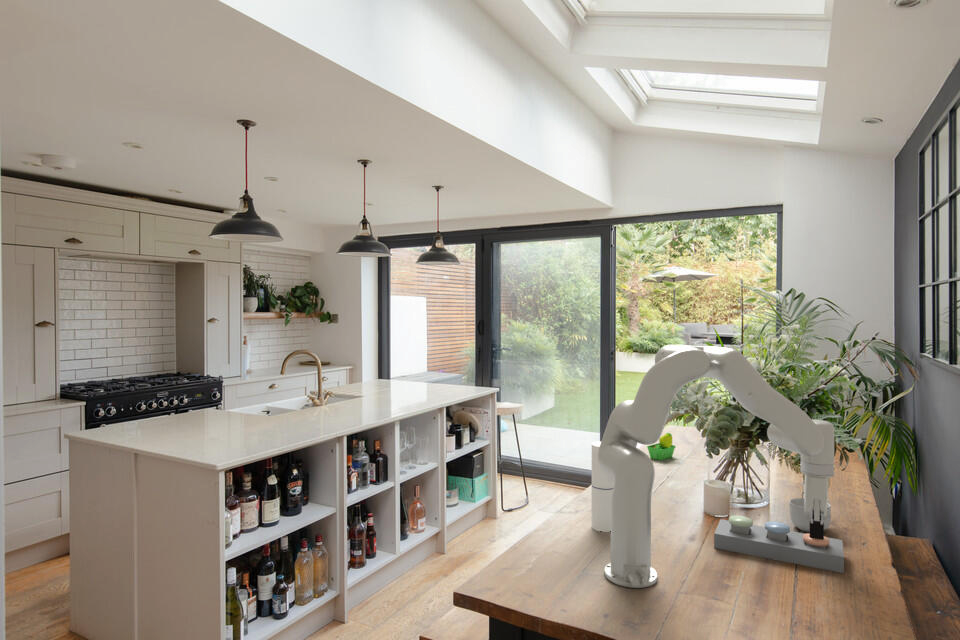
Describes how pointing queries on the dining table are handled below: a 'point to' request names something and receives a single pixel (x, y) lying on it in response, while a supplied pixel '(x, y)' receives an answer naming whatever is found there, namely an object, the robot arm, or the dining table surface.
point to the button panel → (780, 547)
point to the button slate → (777, 530)
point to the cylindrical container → (600, 494)
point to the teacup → (805, 515)
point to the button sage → (740, 524)
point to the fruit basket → (662, 448)
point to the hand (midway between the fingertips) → (816, 537)
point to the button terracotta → (815, 541)
